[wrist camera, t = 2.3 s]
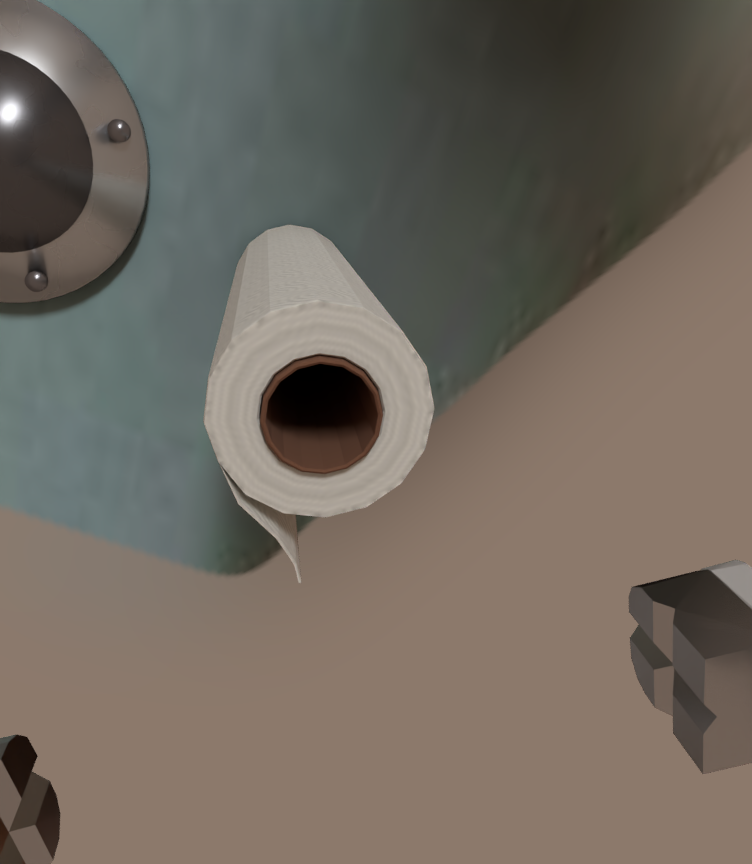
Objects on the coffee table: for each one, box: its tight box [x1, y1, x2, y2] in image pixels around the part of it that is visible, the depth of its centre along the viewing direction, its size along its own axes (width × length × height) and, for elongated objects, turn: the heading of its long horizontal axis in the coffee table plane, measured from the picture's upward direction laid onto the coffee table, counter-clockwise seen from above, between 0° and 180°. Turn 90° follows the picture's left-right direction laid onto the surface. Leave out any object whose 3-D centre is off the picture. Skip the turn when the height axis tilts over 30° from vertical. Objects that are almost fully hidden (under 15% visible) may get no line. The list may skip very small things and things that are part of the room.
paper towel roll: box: [203, 225, 434, 583], centre depth 28 cm, size 7×6×21 cm
